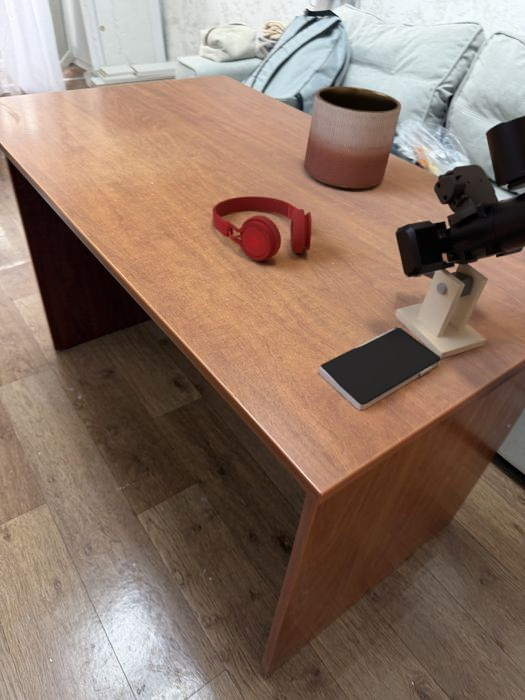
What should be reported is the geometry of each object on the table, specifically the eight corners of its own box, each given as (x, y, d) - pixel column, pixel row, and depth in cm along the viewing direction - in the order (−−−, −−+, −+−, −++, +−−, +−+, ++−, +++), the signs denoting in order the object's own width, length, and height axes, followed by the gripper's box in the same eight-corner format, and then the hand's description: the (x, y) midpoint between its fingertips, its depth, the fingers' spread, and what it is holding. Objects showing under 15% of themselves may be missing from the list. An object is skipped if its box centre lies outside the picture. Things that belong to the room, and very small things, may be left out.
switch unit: (394, 315, 72) (414, 258, 65) (435, 304, 75) (458, 248, 68) (439, 359, 65) (466, 301, 59) (482, 345, 68) (513, 288, 62)
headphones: (327, 255, 82) (270, 216, 96) (331, 213, 77) (271, 180, 92) (248, 272, 76) (200, 228, 90) (248, 228, 72) (198, 189, 86)
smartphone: (317, 365, 61) (397, 325, 68) (316, 372, 62) (395, 331, 69) (363, 406, 56) (443, 359, 64) (360, 413, 57) (440, 365, 64)
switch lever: (399, 275, 72) (402, 255, 71) (415, 271, 73) (418, 252, 72) (454, 300, 64) (458, 279, 62) (471, 296, 65) (476, 274, 63)
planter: (368, 200, 100) (388, 119, 90) (290, 177, 105) (300, 98, 95) (391, 172, 112) (412, 98, 102) (321, 153, 117) (333, 80, 107)
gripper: (552, 147, 58) (455, 191, 73) (432, 161, 52) (352, 207, 66) (570, 239, 59) (471, 264, 74) (455, 264, 52) (370, 287, 67)
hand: (418, 254), depth 70 cm, fingers closed, pressing on switch unit
